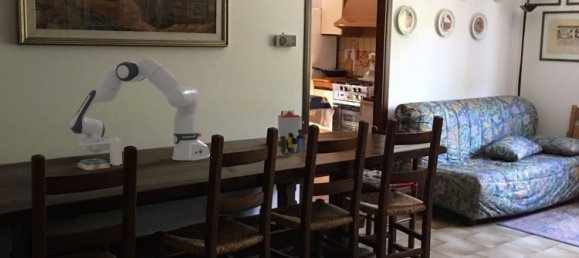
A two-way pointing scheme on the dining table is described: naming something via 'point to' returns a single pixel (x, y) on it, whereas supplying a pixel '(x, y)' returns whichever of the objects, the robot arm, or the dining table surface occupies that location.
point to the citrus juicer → (289, 124)
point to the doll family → (291, 143)
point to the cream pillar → (115, 151)
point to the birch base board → (93, 164)
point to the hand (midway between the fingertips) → (106, 147)
